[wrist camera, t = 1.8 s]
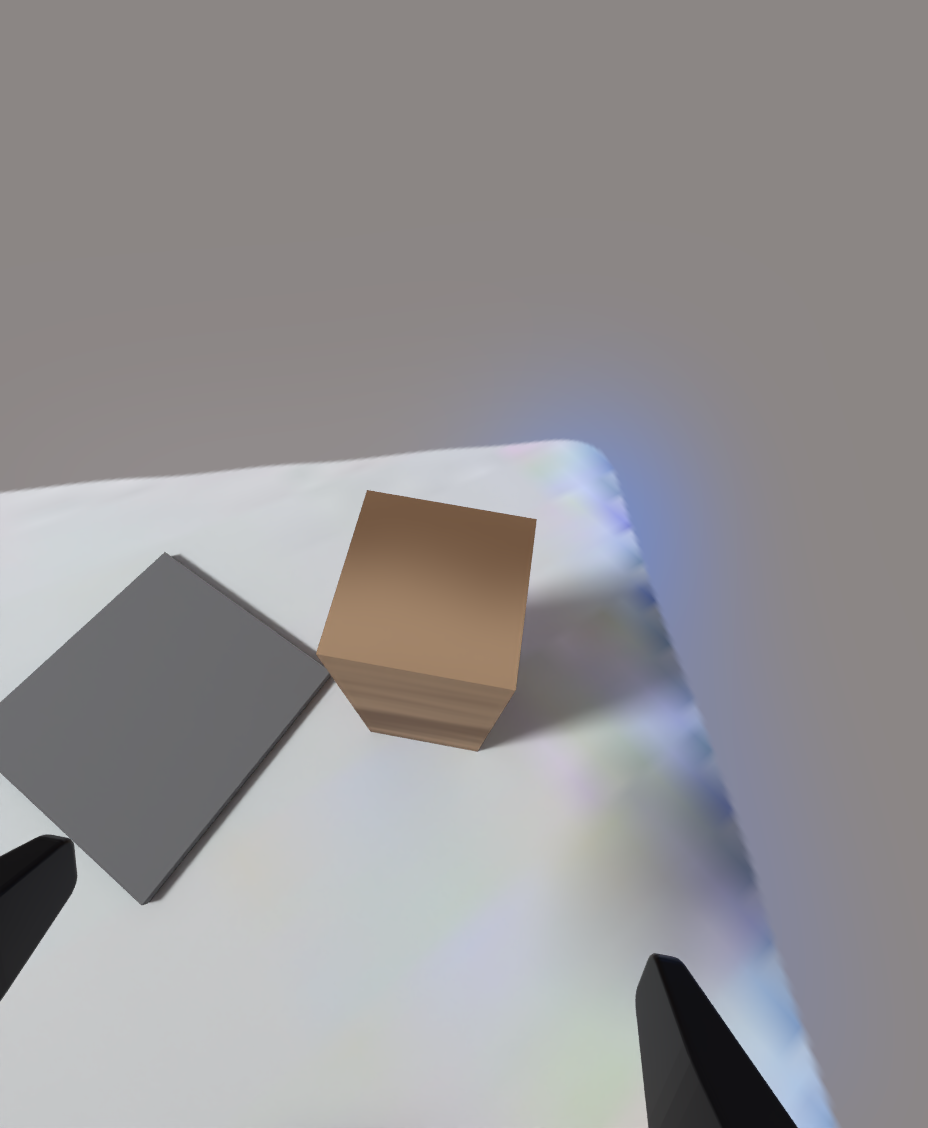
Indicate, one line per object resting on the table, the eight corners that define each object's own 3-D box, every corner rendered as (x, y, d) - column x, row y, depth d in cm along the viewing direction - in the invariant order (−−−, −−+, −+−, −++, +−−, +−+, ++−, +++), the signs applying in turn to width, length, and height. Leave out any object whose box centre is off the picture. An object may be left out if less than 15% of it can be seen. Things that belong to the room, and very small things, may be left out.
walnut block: (477, 751, 21) (515, 690, 11) (370, 731, 21) (315, 654, 11) (492, 647, 23) (536, 519, 13) (395, 630, 23) (366, 490, 13)
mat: (147, 903, 18) (141, 905, 18) (-30, 738, 20) (-38, 736, 20) (332, 673, 22) (330, 671, 22) (168, 556, 24) (164, 552, 24)
